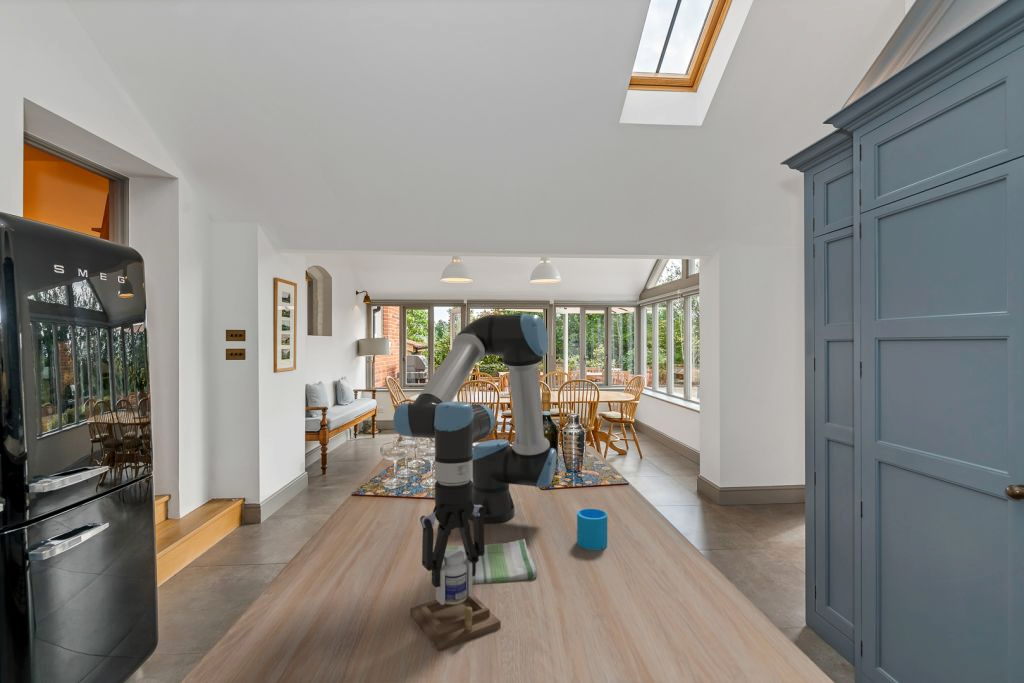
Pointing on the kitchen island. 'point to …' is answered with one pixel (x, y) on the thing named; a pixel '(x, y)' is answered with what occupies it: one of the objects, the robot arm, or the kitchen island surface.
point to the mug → (592, 529)
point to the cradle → (454, 621)
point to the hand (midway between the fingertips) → (454, 596)
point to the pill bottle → (455, 577)
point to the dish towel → (502, 563)
